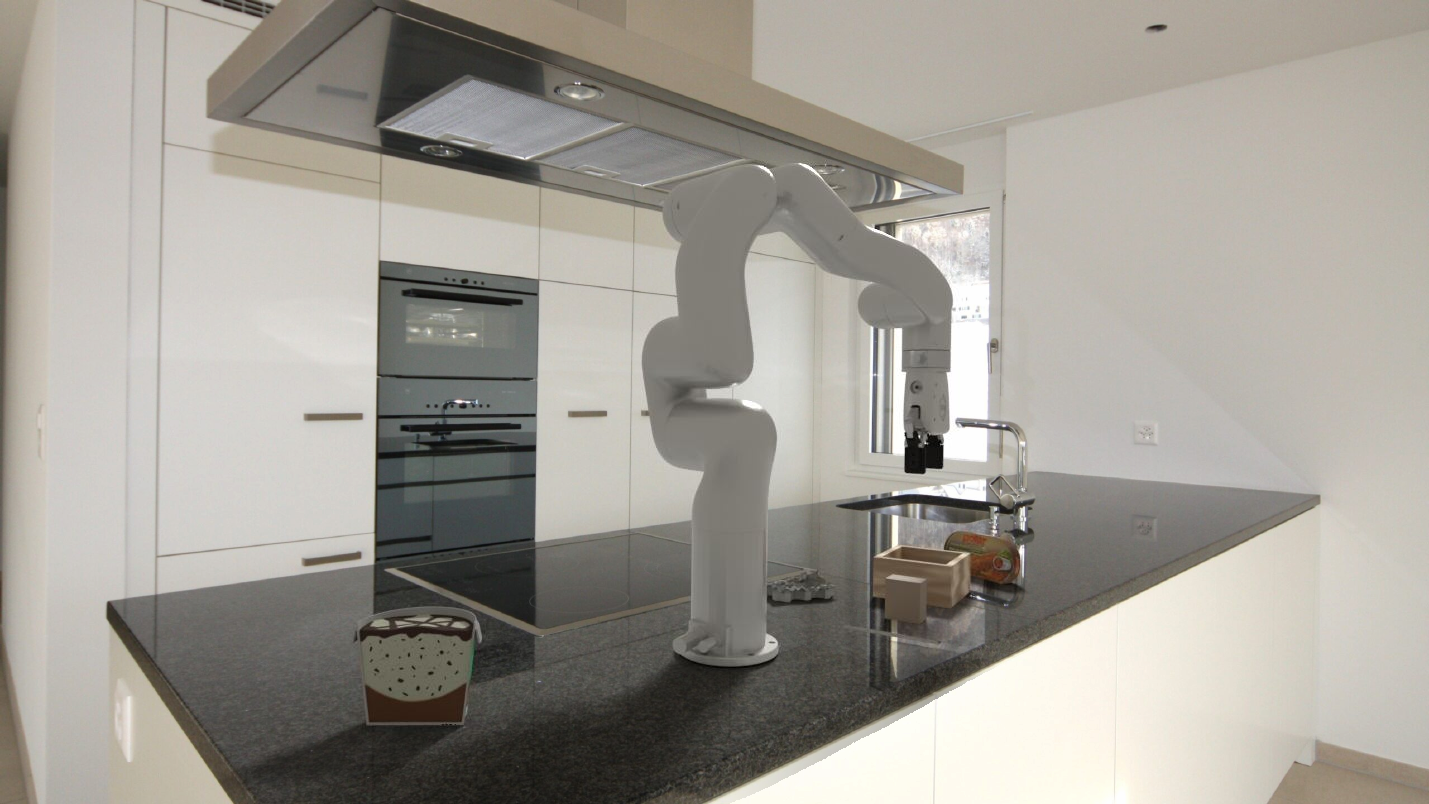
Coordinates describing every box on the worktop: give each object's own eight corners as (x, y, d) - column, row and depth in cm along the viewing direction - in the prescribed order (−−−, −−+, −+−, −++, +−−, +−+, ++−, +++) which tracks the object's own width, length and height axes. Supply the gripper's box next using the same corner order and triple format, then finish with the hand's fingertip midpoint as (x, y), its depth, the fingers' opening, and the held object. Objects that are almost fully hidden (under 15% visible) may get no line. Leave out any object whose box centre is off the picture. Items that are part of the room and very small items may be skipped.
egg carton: (819, 593, 131) (820, 568, 131) (839, 605, 124) (840, 579, 124) (758, 597, 128) (758, 572, 128) (775, 610, 121) (775, 582, 121)
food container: (494, 700, 84) (495, 605, 84) (479, 724, 78) (480, 622, 78) (375, 700, 84) (376, 604, 83) (350, 725, 77) (351, 622, 77)
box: (950, 613, 119) (951, 566, 119) (872, 601, 125) (873, 557, 125) (970, 596, 129) (970, 553, 129) (897, 586, 136) (898, 544, 135)
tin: (941, 573, 146) (942, 527, 146) (953, 571, 147) (954, 526, 147) (1010, 592, 133) (1011, 541, 133) (1023, 589, 135) (1024, 539, 134)
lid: (937, 648, 104) (938, 594, 104) (844, 631, 111) (845, 581, 111) (964, 624, 115) (964, 576, 115) (877, 610, 122) (878, 564, 122)
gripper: (934, 360, 117) (932, 477, 118) (963, 364, 132) (962, 468, 132) (884, 361, 121) (883, 474, 122) (918, 364, 136) (917, 465, 136)
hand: (924, 471), depth 127 cm, fingers open, 9 cm apart
